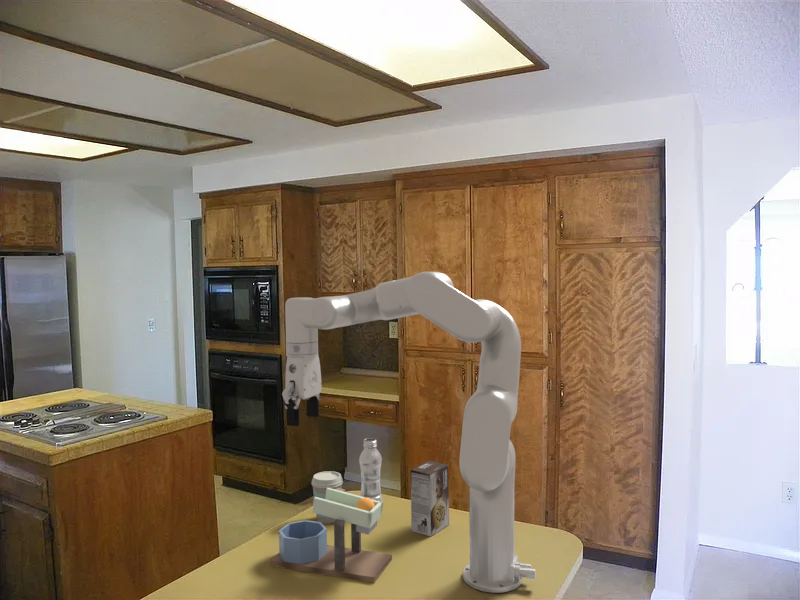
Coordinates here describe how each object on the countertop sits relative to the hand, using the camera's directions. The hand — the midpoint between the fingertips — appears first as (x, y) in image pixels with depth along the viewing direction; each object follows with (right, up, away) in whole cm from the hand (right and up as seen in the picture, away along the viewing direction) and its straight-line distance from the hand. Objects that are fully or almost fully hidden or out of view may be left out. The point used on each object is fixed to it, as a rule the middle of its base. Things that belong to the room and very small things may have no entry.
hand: (303, 420), depth 140 cm
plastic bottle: (+15, -31, +24) cm, 42 cm away
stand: (+7, -31, -6) cm, 33 cm away
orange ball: (+15, -17, -9) cm, 25 cm away
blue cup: (0, -30, -3) cm, 30 cm away
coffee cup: (+3, -31, +19) cm, 36 cm away
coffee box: (+31, -31, +13) cm, 45 cm away
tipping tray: (+12, -21, -4) cm, 25 cm away
